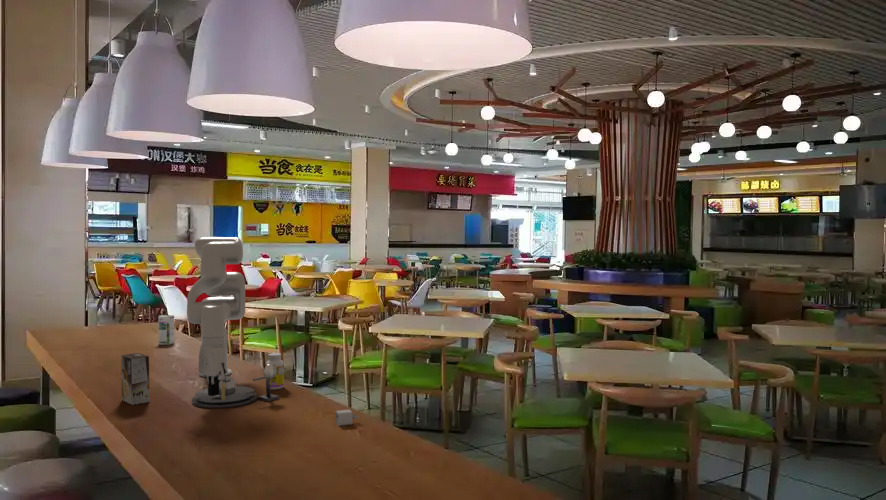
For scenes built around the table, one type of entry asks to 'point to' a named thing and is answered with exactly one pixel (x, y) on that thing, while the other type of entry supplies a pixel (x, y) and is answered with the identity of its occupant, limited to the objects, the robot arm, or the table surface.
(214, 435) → the table surface
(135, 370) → the coffee box
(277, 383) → the supplement bottle
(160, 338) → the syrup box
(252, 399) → the turntable base
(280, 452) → the table surface
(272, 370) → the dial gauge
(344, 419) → the usb wall charger
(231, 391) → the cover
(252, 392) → the platter
